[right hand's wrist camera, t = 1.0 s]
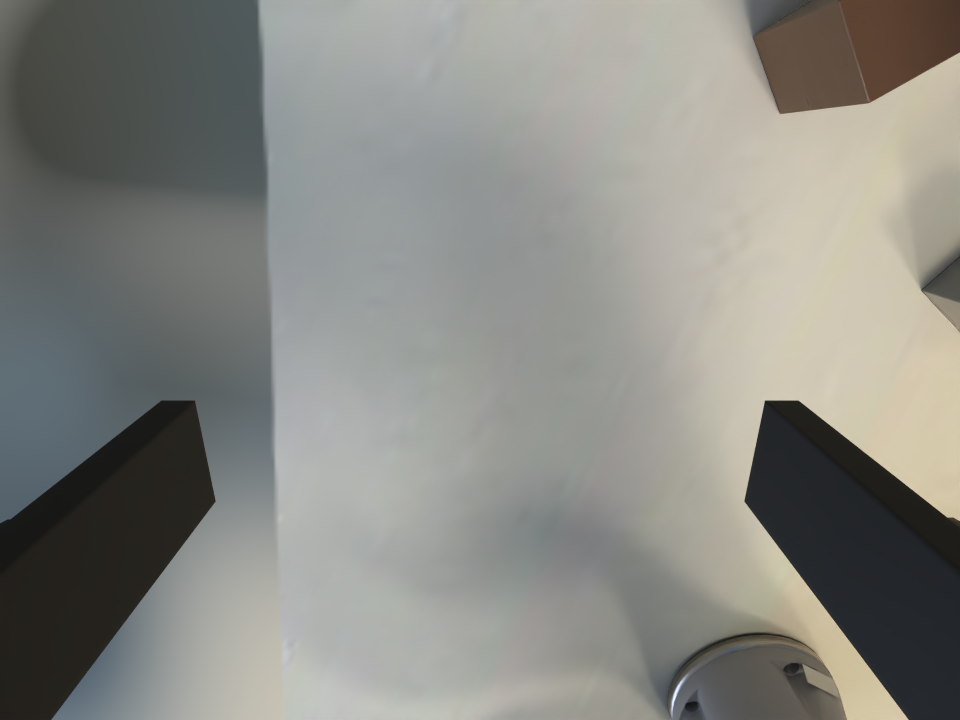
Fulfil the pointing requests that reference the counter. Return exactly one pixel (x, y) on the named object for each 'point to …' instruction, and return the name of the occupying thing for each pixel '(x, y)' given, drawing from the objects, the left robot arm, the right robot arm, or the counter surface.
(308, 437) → the counter surface
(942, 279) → the grey block
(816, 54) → the walnut bar
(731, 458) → the counter surface
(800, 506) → the right robot arm
